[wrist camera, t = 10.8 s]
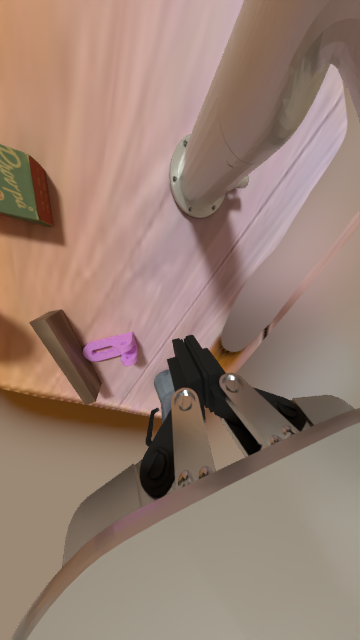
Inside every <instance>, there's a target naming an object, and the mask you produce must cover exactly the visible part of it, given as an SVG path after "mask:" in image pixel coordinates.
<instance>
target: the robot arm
mask: <svg viewBox="0 0 360 640" xmlns="http://www.w3.org/2000/svg"><path fill="white" fill-rule="evenodd" d="M330 64H333V65H334V66H335V67H336V68H337V69H338V71H339V73H340V75H341V78H342V80H343V82H344V85H345V87H346V88H347V89H348V90H349V93H350V96H351V99H352V102H353V104H354V107H355V110H356V113H357V116H358V119H359V122H360V0H244V2H243V5H242V8H241V10H240V13H239V15H238V18H237V20H236V23H235V25H234V28H233V30H232V33H231V35H230V38H229V40H228V43H227V46H226V48H225V51H224V53H223V56H222V58H221V61H220V63H219V66H218V68H217V71H216V73H215V76H214V78H213V81H212V83H211V86H210V88H209V91H208V93H207V96H206V98H205V101H204V103H203V106H202V108H201V111H200V113H199V116H198V118H197V121H196V123H195V126H194V128H193V131H192V133H191V134H189V135H187V136H186V137H184V138H183V139H182V140H181V141H180V142H179V144H178V145H177V147H176V149H175V151H174V153H173V156H172V159H171V164H170V173H169V177H170V186H171V190H172V194H173V196H174V199H175V201H176V202H177V204H178V206H179V207H180V208H181V210H182V211H184V212H185V213H186V214H187V215H189V216H191V217H194V218H205V217H207V216H209V215H211V214H213V213H214V212H215V211H216V210H217V209H218V208H219V207H220V205H221V204H222V202H223V200H224V198H225V195H226V192H228V191H230V190H232V189H233V188H245V187H246V186H247V185H248V182H249V176H248V174H250V173H251V172H252V171H253V170H255V169H256V168H257V167H258V166H260V165H261V164H262V163H263V162H264V161H266V160H267V159H268V158H269V157H270V156H272V155H273V154H274V153H275V152H277V151H278V150H279V149H280V148H281V147H282V146H283V145H284V144H285V143H286V142H287V141H288V140H289V139H290V138H291V136H292V135H293V134H294V133H295V131H296V130H297V128H298V127H299V126H300V124H301V123H302V121H303V120H304V118H305V116H306V114H307V112H308V111H309V109H310V107H311V105H312V103H313V101H314V99H315V97H316V95H317V93H318V91H319V89H320V87H321V84H322V82H323V80H324V78H325V75H326V73H327V71H328V68H329V66H330ZM184 146H185V147H184ZM173 180H174V181H175V182H174V181H173ZM188 209H189V210H190V212H189V210H188ZM172 342H173V348H174V353H175V357H173V358H170V359H167V362H168V366H169V370H170V374H171V378H172V382H173V386H174V390H175V393H174V394H173V396H172V400H171V410H170V411H169V413H168V415H167V417H166V418H165V420H164V422H163V424H162V426H161V427H160V429H159V431H158V432H157V434H156V436H155V438H154V439H153V441H152V443H151V444H150V446H149V448H148V450H147V451H146V453H145V455H144V457H143V459H142V460H141V461H139V462H138V463H137V464H135V465H134V464H132V465H131V466H129V467H128V468H126V469H125V470H124V471H122V472H121V473H120V474H118V475H117V476H116V477H114V478H113V479H112V480H110V481H109V482H108V483H106V484H105V485H103V486H102V487H100V488H99V489H98V490H96V491H95V492H94V493H92V494H91V495H90V496H88V497H87V498H86V499H85V500H84V501H83V502H82V503H81V504H80V506H79V507H78V508H77V510H76V511H75V513H74V515H73V517H72V519H71V522H70V524H69V527H68V531H67V535H66V540H65V548H64V555H63V563H62V568H61V569H60V571H59V572H58V573H57V574H56V575H55V576H54V577H53V579H52V580H51V581H50V582H49V583H48V585H47V586H46V587H45V588H44V590H43V591H42V592H41V594H40V595H39V596H38V597H37V599H36V600H35V601H34V603H33V604H32V606H31V607H30V608H29V610H28V611H27V613H26V614H25V616H24V617H23V619H22V620H21V622H20V624H19V625H18V627H17V629H16V630H15V632H14V633H13V635H12V637H11V639H10V640H360V408H358V409H354V408H353V407H352V406H351V405H349V404H348V403H347V402H345V401H344V400H342V399H340V398H338V397H334V396H332V395H322V396H311V397H301V398H293V399H292V400H288V399H286V398H283V397H280V396H277V395H274V394H271V393H268V392H265V391H262V390H259V389H256V388H253V387H251V386H250V385H249V384H248V383H247V382H246V381H245V380H244V379H243V378H242V377H240V376H239V375H237V374H234V373H225V371H224V370H223V369H222V367H221V366H220V364H219V363H218V362H217V360H216V359H215V358H214V356H213V355H212V354H211V352H210V351H209V350H208V348H204V349H202V347H201V346H200V344H199V343H198V342H197V340H196V339H195V337H194V336H193V335H189V336H186V338H185V339H184V342H183V340H182V339H181V340H180V339H179V338H178V339H174V340H172ZM204 405H205V407H206V408H209V410H210V412H213V411H214V413H215V415H217V416H219V417H220V419H221V421H222V422H223V424H224V425H225V427H226V429H227V430H228V431H229V433H230V435H231V436H232V438H233V439H234V440H235V442H236V444H237V445H238V447H239V448H240V450H241V451H242V453H243V454H244V456H245V458H243V459H241V460H239V461H237V462H235V463H233V464H231V465H228V466H227V467H224V468H222V469H220V470H218V471H216V470H215V466H214V462H213V457H212V454H211V449H210V445H209V441H208V437H207V433H206V428H205V424H204V421H205V408H204Z"/></svg>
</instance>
